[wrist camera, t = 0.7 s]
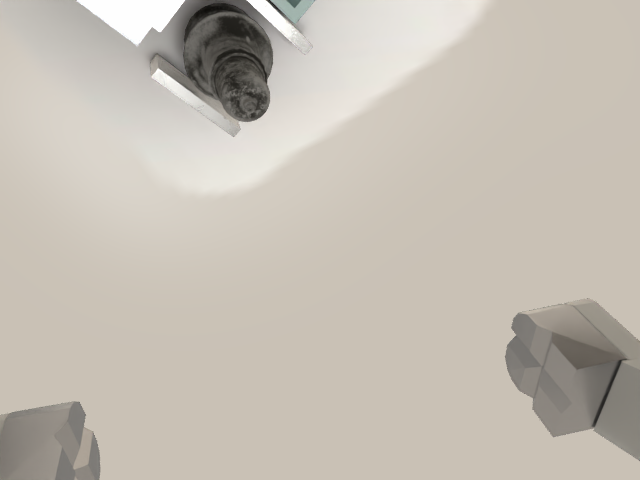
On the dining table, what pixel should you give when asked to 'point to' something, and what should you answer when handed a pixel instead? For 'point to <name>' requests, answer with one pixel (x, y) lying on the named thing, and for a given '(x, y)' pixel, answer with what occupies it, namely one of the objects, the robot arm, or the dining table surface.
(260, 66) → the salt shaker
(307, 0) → the tray
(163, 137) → the dining table surface
